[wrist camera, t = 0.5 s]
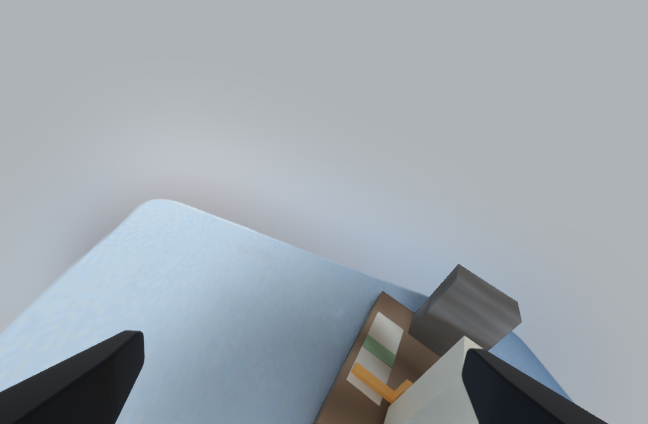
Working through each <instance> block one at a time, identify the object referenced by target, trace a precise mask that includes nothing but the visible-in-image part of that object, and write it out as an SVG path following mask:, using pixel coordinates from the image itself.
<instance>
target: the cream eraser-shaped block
mask: <svg viewBox="0 0 648 424" xmlns="http://www.w3.org/2000/svg"><path fill="white" fill-rule="evenodd" d="M470 348H480V349H483V348H481V347H480V346H479V345H477V344H476V343H474V342H473V341H471V340H470V339H469V338H467V337H466V336H464V337H462V338H461V339H460V340H459V341H458V342H457V343H456V344H455V345H454V346H453V347H452V348H451V349H450V350H449V351H448V352H447V353H446V354H444V355H443V356H442V357H441V358H440V359H439V360H438V361H437V362H436V363H435V364H434V365H433V366H432V367H431V368H430V369H429V370H427V371H426V372H425V373H424V374H423V375H422V376H421V377H420V378H419V379H418V380H417V381H416V382H415V383H414V384H413V385H412V386H410V387H409V388H408V389H407V390H406V391H405V392H404V393H403V394H402V395H401V396H400V397H399V398H398V399H397V400H396V401H395V402H394V403H392V404H391V405H390V406H389V407H388V410H387V414H386V417H385V421H384V424H479V422H478V420H477V417H476V415H475V412H474V409H473V407H472V404H471V402H470V399H469V397H468V394H467V391H466V389H465V386H464V384H463V381H462V368H463V364H464V360H465V356H466V352H467V350H468V349H470Z"/></svg>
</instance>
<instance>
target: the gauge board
mask: <svg viewBox="0 0 648 424" xmlns="http://www.w3.org/2000/svg"><path fill="white" fill-rule="evenodd" d="M521 322H522V321H521V316H520V311H519V307H518V302H517V301H515V300H513V299H512V298H510V297H509V296H507V295H506V294H504V293H503V292H501V291H499V290H498V289H496V288H495V287H493V286H492V285H490V284H489V283H487V282H486V281H484V280H483V279H481V278H479V277H478V276H476V275H475V274H473V273H471V272H470V271H469V270H467V269H466V268H464V267H462V266H461V265H459V264H458V265H457V266H456V267H455V269H454V270H453V271H452V272H451V273H450V274H449V275H448V276H447V278H446V279H445V280H444V281H443V282H442V283H441V284H440V286H439V287H438V288H437V289H436V290H435V291H434V292H433V294H432V295H431V296H430V297H429V298H428V299H427V300H426V302H425V303H424V304H423V305H422V306H421V307H420V308H419V309H418V311H417V312H416V313H413V312H412V311H410V310H409V309H407V308H406V307H405V306H403V305H402V304H400V303H399V302H398V301H396V300H395V299H393V298H392V297H391V296H389V295H388V294H386V293H385V292H383V291H382V293H381V294H380V295H379V297H378V298H377V299H376V301H375V303H374V305H373V307H372V309H371V311H370V313H369V315H368V317H367V319H366V321H365V323H364V325H363V327H362V329H361V331H360V333H359V335H358V337H357V339H356V341H355V342H354V344H353V346H352V348H351V350H350V352H349V354H348V356H347V358H346V360H345V362H344V364H343V366H342V368H341V370H340V372H339V374H338V376H337V378H336V380H335V382H334V384H333V386H332V388H331V390H330V392H329V394H328V396H327V398H326V400H325V402H324V403H323V405H322V407H321V409H320V411H319V413H318V415H317V417H316V419H315V421H314V423H313V424H384V421H385V417H386V414H387V410H388V407H389V406H390V405H391V404H390V403H389V402H388V401H387V400H385V399H384V398H383V397H382V396H380V395H379V394H378V393H377V392H375V391H374V390H373V389H372V388H370V387H369V386H368V385H367V384H365V383H364V382H363V381H362V380H360V379H359V378H358V377H357V376H355V375H354V374H353V373H351V371H352V369H353V367H354V365H355V363H356V362H358V363H359V364H360V365H361V366H363V367H364V368H365V369H367V370H368V371H369V372H370V373H372V374H373V375H374V376H376V377H377V378H378V379H379V380H381V381H382V382H383V383H384V384H386V385H387V386H388V387H390V388H391V389H392V390H393V391H395V390H396V389H397V388H398V387H399V386H400V385H401V384H402V383H403V382H404V381H405V380H406V379H408V380H409V381H410V382H412V383H413V384H414V383H415V382H416V381H417V380H418V379H419V378H420V377H421V376H422V375H423V374H424V373H425V372H426V371H427V370H429V369H430V368H431V367H432V366H433V365H434V364H435V363H436V362H437V361H438V360H439V359H440V358H441V357H442V356H443V355H444V354H446V353H447V352H448V351H449V350H450V349H451V348H452V347H453V346H454V345H455V344H456V343H457V342H458V341H459V340H460V339H461V338H462V337H464V336H466V337H467V338H469V339H470V340H471V341H473V342H474V343H476V344H477V345H479V346H480V347H481V348H483V349H485V350H486V351H488V350H490V349H491V348H492V347H493V346H494V345H495V344H497V343H498V342H499V341H500V340H501V339H502V338H504V337H505V336H506V335H507V334H508V333H510V332H511V331H512V330H513V329H514V328H515V327H516V326H518V325H519V324H520V323H521Z"/></svg>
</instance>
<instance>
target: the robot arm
mask: <svg viewBox="0 0 648 424" xmlns="http://www.w3.org/2000/svg"><path fill="white" fill-rule="evenodd" d="M144 358H145V355H144V336H143V333H142V332H141V331H132V330H126V331H123V332H121V333H119V334H117V335H115V336H113V337H111V338H109V339H107V340H105V341H103V342H101V343H99V344H97V345H95V346H93V347H91V348H89V349H86V350H84V351H82V352H80V353H78V354H76V355H74V356H72V357H70V358H68V359H66V360H64V361H62V362H60V363H58V364H56V365H54V366H52V367H50V368H48V369H46V370H44V371H42V372H40V373H38V374H36V375H34V376H32V377H30V378H28V379H26V380H24V381H22V382H20V383H18V384H16V385H14V386H12V387H10V388H8V389H6V390H4V391H2V392H0V424H115V423H116V421H117V419H118V417H119V415H120V413H121V410H122V408H123V406H124V404H125V402H126V400H127V398H128V396H129V394H130V392H131V390H132V388H133V386H134V384H135V381H136V379H137V377H138V375H139V373H140V371H141V369H142V367H143V364H144ZM462 381H463V384H464V386H465V389H466V391H467V394H468V397H469V399H470V402H471V404H472V407H473V409H474V412H475V415H476V417H477V420H478V422H479V424H608V423H606V422H604V421H603V420H601V419H599V418H598V417H596V416H594V415H592V414H591V413H589V412H588V411H586V410H584V409H583V408H581V407H579V406H578V405H576V404H574V403H573V402H571V401H569V400H568V399H566V398H564V397H563V396H561V395H559V394H558V393H556V392H554V391H553V390H551V389H549V388H548V387H546V386H544V385H543V384H541V383H539V382H538V381H536V380H535V379H533V378H531V377H530V376H528V375H526V374H525V373H523V372H521V371H520V370H518V369H516V368H515V367H513V366H511V365H510V364H508V363H506V362H505V361H503V360H501V359H500V358H498V357H496V356H495V355H493V354H491V353H490V352H488V351H486V350H485V349H480V348H470V349H468V350H467V352H466V356H465V360H464V364H463V368H462Z"/></svg>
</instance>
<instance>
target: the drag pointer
mask: <svg viewBox="0 0 648 424" xmlns="http://www.w3.org/2000/svg"><path fill="white" fill-rule="evenodd" d="M351 373H353V374H354V375H355V376H357V377H358V378H359V379H360V380H362V381H363V382H364V383H365V384H367V385H368V386H369V387H370V388H372V389H373V390H374V391H375V392H377V393H378V394H379V395H380V396H382V397H383V398H384V399H385V400H387V401H388V402H389V403H390V404H392V403H394V402H395V401H396V400H397V399H398V398H399V397H400V396H401V395H402V394H403V393H404V392H405V391H406V390H407V389H408V388H409V387H410V386H412V385H413V383H412V382H410V381H409V380H408V379H406V380H405V381H404V382H403V383H402V384H401V385H400V386H399V387H398V388H397V389H396V390H395V391H393V390H392V389H391V388H390V387H388V386H387V385H386V384H384V383H383V382H382V381H381V380H379V379H378V378H377V377H376V376H374V375H373V374H372V373H370V372H369V371H368V370H367V369H365V368H364V367H363V366H361V365H360V364H359V363H358V362H356V363H355V365H354V367H353V369H352V371H351Z"/></svg>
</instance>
